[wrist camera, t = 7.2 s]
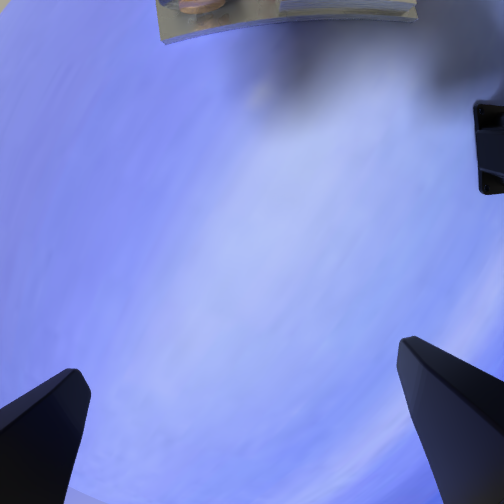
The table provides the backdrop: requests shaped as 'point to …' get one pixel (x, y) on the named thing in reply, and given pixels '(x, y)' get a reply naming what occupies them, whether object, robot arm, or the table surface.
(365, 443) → the table surface
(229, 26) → the motor mount
